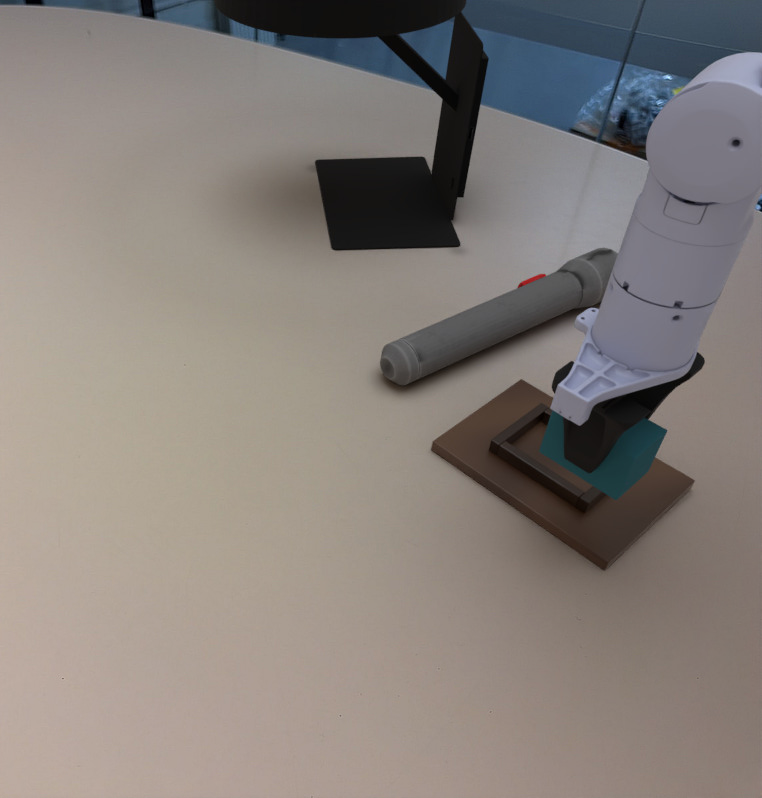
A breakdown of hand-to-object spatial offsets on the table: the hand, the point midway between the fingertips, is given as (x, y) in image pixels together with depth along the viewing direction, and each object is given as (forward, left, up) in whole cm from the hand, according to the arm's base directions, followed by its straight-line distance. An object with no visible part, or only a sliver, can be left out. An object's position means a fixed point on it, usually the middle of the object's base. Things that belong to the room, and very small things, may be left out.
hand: (598, 447), depth 55 cm
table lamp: (+47, -23, -9) cm, 53 cm away
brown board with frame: (+4, -5, -8) cm, 10 cm away
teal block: (0, 0, -1) cm, 1 cm away
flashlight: (+18, -15, -9) cm, 25 cm away
